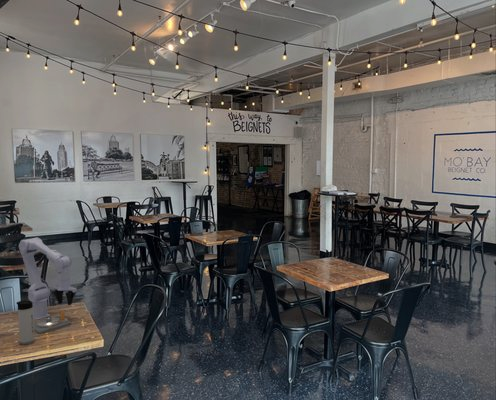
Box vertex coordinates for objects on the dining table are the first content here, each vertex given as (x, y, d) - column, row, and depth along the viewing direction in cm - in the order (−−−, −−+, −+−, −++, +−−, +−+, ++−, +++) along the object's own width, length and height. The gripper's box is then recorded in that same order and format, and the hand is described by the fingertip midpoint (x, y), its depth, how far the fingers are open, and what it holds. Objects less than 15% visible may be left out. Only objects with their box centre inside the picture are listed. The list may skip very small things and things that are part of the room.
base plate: (26, 326, 205) (26, 320, 205) (58, 317, 217) (57, 312, 217) (39, 334, 195) (39, 328, 194) (71, 324, 207) (71, 319, 207)
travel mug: (16, 342, 186) (14, 301, 184) (31, 338, 191) (29, 297, 189) (21, 346, 182) (19, 304, 180) (36, 341, 186) (34, 300, 185)
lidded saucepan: (35, 328, 199) (35, 318, 198) (39, 320, 209) (38, 311, 209) (65, 324, 203) (65, 314, 203) (67, 317, 214) (67, 307, 213)
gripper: (47, 280, 209) (48, 305, 210) (69, 282, 204) (70, 307, 205) (57, 276, 216) (58, 300, 217) (79, 278, 211) (80, 303, 212)
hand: (65, 304), depth 211 cm, fingers open, 6 cm apart
